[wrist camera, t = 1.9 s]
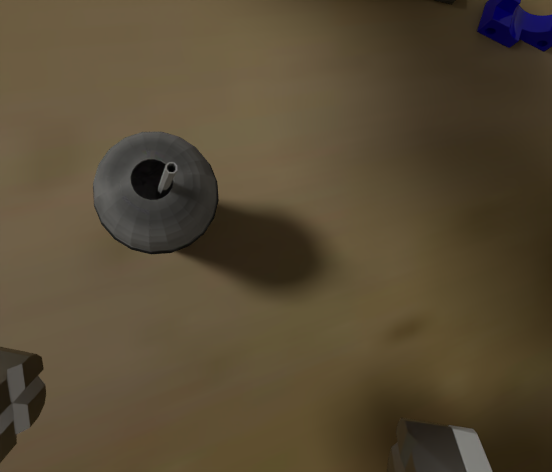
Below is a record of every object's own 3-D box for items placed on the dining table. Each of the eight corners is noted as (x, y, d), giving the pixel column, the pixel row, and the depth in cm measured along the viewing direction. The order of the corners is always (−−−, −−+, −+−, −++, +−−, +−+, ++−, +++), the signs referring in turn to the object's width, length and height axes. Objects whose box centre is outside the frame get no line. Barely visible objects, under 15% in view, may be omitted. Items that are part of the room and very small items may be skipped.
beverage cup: (143, 162, 37) (96, 38, 18) (222, 197, 38) (259, 116, 19) (106, 240, 36) (12, 199, 17) (188, 273, 37) (191, 272, 18)
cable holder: (475, 32, 45) (503, 9, 42) (484, 4, 46) (512, -22, 42) (539, 64, 47) (571, 45, 43) (546, 36, 47) (579, 15, 43)
